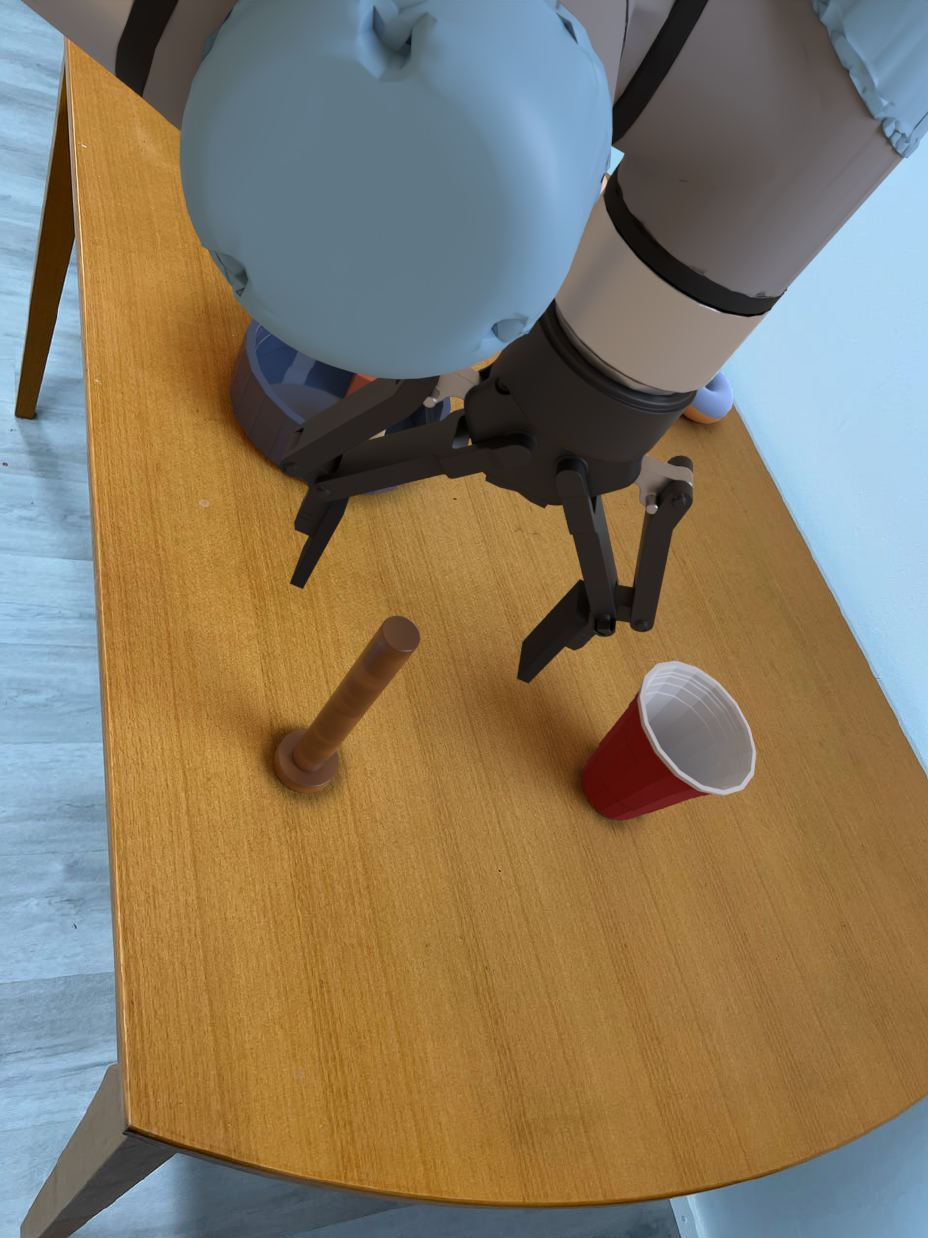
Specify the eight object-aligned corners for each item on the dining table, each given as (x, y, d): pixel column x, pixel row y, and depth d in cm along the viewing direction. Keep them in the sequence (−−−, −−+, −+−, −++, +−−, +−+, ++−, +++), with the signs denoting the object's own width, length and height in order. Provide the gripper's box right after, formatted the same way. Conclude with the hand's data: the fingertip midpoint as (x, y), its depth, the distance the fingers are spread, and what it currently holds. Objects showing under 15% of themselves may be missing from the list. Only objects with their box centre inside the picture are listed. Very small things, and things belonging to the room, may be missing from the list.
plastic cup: (685, 848, 80) (784, 790, 71) (577, 856, 74) (668, 795, 66) (645, 727, 85) (732, 660, 76) (541, 728, 80) (621, 655, 71)
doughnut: (727, 405, 120) (751, 379, 117) (706, 444, 113) (730, 417, 110) (663, 355, 120) (686, 328, 116) (638, 391, 113) (661, 363, 110)
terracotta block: (341, 404, 89) (356, 373, 86) (351, 378, 91) (366, 347, 88) (381, 423, 90) (397, 393, 87) (390, 397, 92) (406, 367, 89)
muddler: (265, 780, 66) (357, 648, 53) (283, 727, 69) (374, 588, 56) (324, 802, 68) (429, 678, 54) (339, 749, 70) (442, 618, 57)
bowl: (198, 438, 80) (215, 387, 76) (263, 312, 92) (281, 261, 87) (402, 531, 85) (430, 488, 80) (439, 399, 96) (465, 355, 92)
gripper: (869, 409, 44) (614, 648, 59) (357, 128, 38) (224, 477, 53) (889, 526, 39) (606, 753, 54) (306, 226, 33) (177, 577, 48)
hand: (417, 617), depth 54 cm, fingers open, 13 cm apart
